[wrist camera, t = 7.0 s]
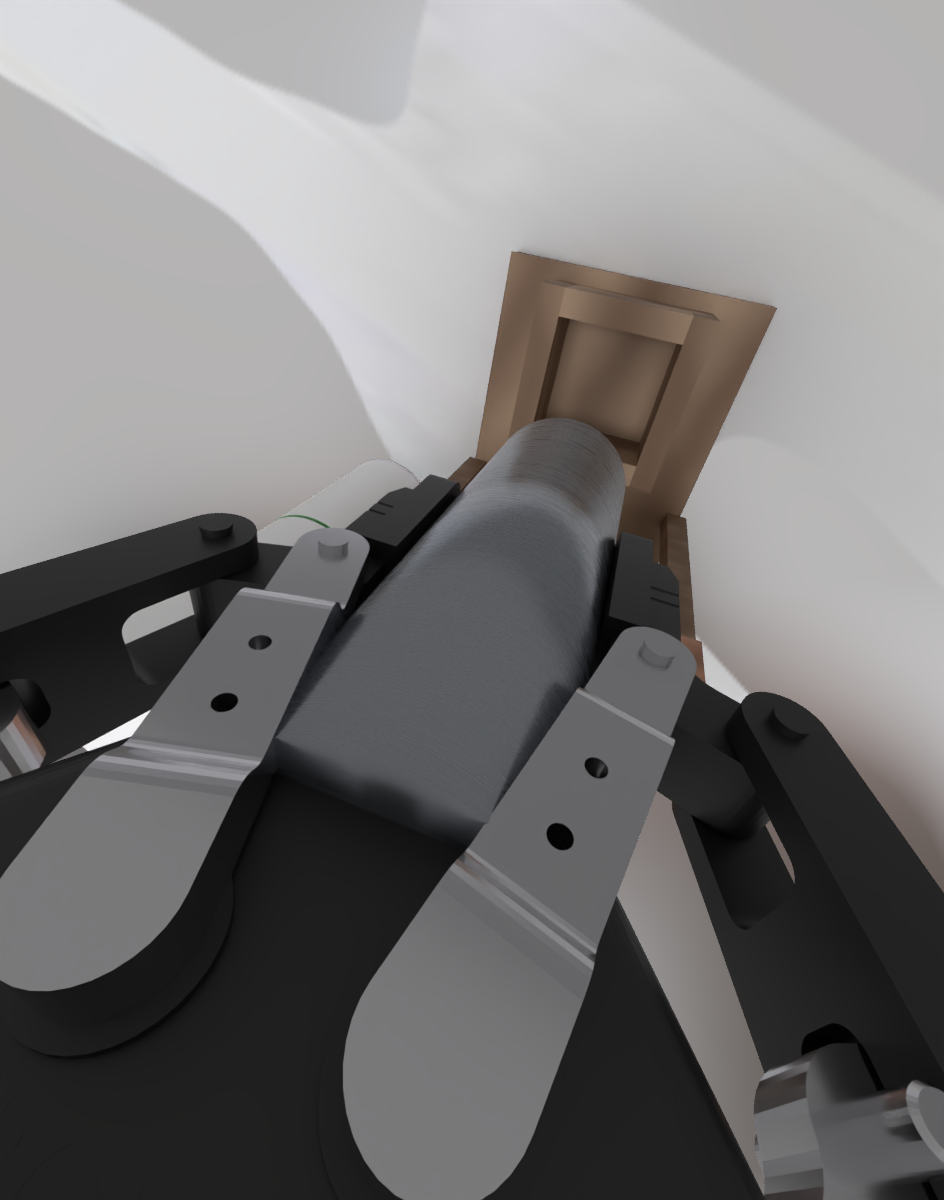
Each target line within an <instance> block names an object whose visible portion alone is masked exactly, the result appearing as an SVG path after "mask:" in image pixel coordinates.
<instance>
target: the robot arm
mask: <svg viewBox="0 0 944 1200" xmlns="http://www.w3.org/2000/svg"><path fill="white" fill-rule="evenodd" d="M459 494H460V483H458V482H455V481H452V480H448V479H445V478H442V477H438V476H435V475H429V476H428V477H427V478H425V479H424V480H423V481H422V482H421V483H420V484H419V485H418V486H416V487H415V488H414V489H410V488H407V487H404V488H401V489H398V490H395V491H392V492H389V493H387V494H386V495H385V496H384V497H383V498H381V499H380V500H379V501H378V503H375V504H374V505H373V506H372V507H370V508H369V511H368V510H367V511H366V512H364V513H363V514H362V515H361V516H360V517H358V518H357V519H356V520H355V521H354V522H352V523H351V524H350V525H349V526H348V527H346V528H345V529H341V528H321V529H316V530H312V531H310V532H307V533H305V534H303V535H302V536H301V537H300V538H299V539H298V540H297V542H296V543H295V545H294V546H284V545H276V544H268V543H259V542H258V538H257V529H256V526H255V525H254V523H253V522H252V521H250V520H249V519H247V518H245V517H242V516H239V515H234V514H227V513H214V514H206V515H200V516H196V517H193V518H189V519H186V520H183V521H179V522H176V523H172V524H169V525H166V526H162V527H159V528H155V529H152V530H149V531H145V532H142V533H138V534H135V535H132V536H128V537H125V538H122V539H118V540H115V541H111V542H108V543H105V544H101V545H98V546H95V547H91V548H88V549H84V550H81V551H77V552H74V553H71V554H67V555H64V556H60V557H57V558H54V559H50V560H47V561H43V562H40V563H37V564H33V565H30V566H27V567H23V568H20V569H16V570H13V571H10V572H6V573H3V574H0V1200H944V893H943V891H942V890H941V889H940V887H939V886H938V884H937V883H936V882H935V880H934V879H933V877H932V876H931V874H930V873H929V872H928V870H927V869H926V868H925V866H924V865H923V863H922V862H921V860H920V859H919V858H918V856H917V855H916V853H915V852H914V851H913V849H912V848H911V846H910V845H909V844H908V842H907V841H906V840H905V838H904V837H903V835H902V834H901V832H900V831H899V830H898V828H897V827H896V825H895V824H894V823H893V821H892V820H891V819H890V817H889V816H888V814H887V813H886V811H885V810H884V808H883V807H882V806H881V804H880V803H879V801H878V800H877V799H876V797H875V796H874V795H873V793H872V792H871V790H870V789H869V787H868V786H867V785H866V783H865V782H864V780H863V779H862V778H861V776H860V775H859V773H858V772H857V771H856V769H855V768H854V767H853V765H852V764H851V762H850V761H849V759H848V758H847V757H846V755H845V754H844V752H843V751H842V749H841V748H840V747H839V746H838V744H837V743H836V741H835V740H834V738H833V737H832V735H831V734H830V733H829V731H828V730H827V729H826V727H825V726H824V725H823V724H822V723H821V721H819V719H817V718H816V717H815V716H814V715H813V714H812V713H811V712H809V711H808V710H807V709H805V708H804V707H802V706H801V705H799V704H797V703H796V702H794V701H792V700H790V699H788V698H785V697H783V696H780V695H777V694H773V693H767V692H755V693H751V694H749V695H748V696H746V697H745V698H744V700H743V701H742V703H741V704H740V703H738V702H736V701H735V700H733V699H731V698H729V697H728V696H726V695H724V694H722V693H720V692H719V691H717V690H715V689H714V688H712V687H710V686H709V685H707V684H706V683H705V682H703V681H702V680H701V679H700V678H698V677H697V676H696V675H695V673H696V670H697V663H696V660H695V658H694V656H693V654H692V653H691V652H690V650H689V649H688V648H687V647H686V646H685V645H684V644H683V643H681V625H680V609H679V607H680V600H679V581H678V580H677V578H676V577H675V575H674V574H673V572H672V571H671V569H670V568H669V567H667V566H664V565H661V564H657V563H654V562H652V560H653V540H651V539H647V538H644V537H641V536H637V535H634V534H630V533H627V532H624V531H622V532H621V533H620V535H619V537H618V540H617V542H616V545H615V548H614V554H613V559H612V565H611V570H610V576H609V581H608V587H607V592H606V598H605V603H604V609H603V614H602V620H601V625H600V631H599V636H598V642H597V648H596V654H595V660H594V666H593V671H592V677H591V679H590V680H589V682H588V683H587V685H586V686H585V688H582V687H579V688H578V689H577V690H576V692H575V693H574V694H573V696H572V697H571V699H570V700H569V702H568V703H567V705H566V706H565V708H564V709H563V710H562V712H561V713H560V715H559V716H558V718H557V719H556V721H555V722H554V724H553V725H552V727H551V728H550V729H549V731H548V732H547V734H546V735H545V737H544V738H543V740H542V741H541V743H540V744H539V746H538V747H537V748H536V750H535V751H534V753H533V754H532V756H531V757H530V759H529V760H528V762H527V763H526V765H525V766H524V767H523V769H522V770H521V772H520V773H519V775H518V776H517V778H516V779H515V781H514V782H513V783H512V785H511V786H510V788H509V789H508V791H507V792H506V794H505V795H504V797H503V798H502V800H501V801H500V802H499V804H498V805H497V807H496V808H495V810H494V811H493V813H492V814H491V816H490V819H489V822H488V824H487V823H485V824H484V826H483V827H482V829H481V830H480V832H479V833H478V835H477V836H476V838H475V839H474V840H473V842H472V843H471V845H470V846H469V847H468V849H467V850H466V851H464V850H461V849H459V848H456V847H454V846H452V845H449V844H447V843H444V842H442V841H440V840H437V839H435V838H432V837H430V836H428V835H425V834H423V833H420V832H418V831H416V830H413V829H411V828H408V827H406V826H404V825H401V824H399V823H397V822H394V821H392V820H389V819H387V818H385V817H382V816H380V815H377V814H375V813H373V812H370V811H368V810H365V809H363V808H361V807H358V806H356V805H353V804H351V803H349V802H346V801H344V800H341V799H339V798H337V797H334V796H332V795H329V794H327V793H325V792H322V791H320V790H318V789H315V788H313V787H310V786H308V785H306V784H303V783H301V782H298V781H296V780H294V779H291V778H289V777H286V776H284V775H282V774H279V773H277V772H275V771H276V768H277V764H276V755H275V747H274V739H273V738H274V736H275V734H276V732H277V730H278V729H279V727H280V725H281V723H282V721H283V719H284V718H285V716H286V714H287V712H288V710H289V708H290V707H291V705H292V703H293V701H294V700H295V698H296V696H297V695H298V693H299V691H300V689H301V688H302V686H303V684H304V683H305V681H306V679H307V677H308V676H309V674H310V672H311V670H312V669H313V667H314V666H315V664H316V662H317V661H318V659H319V658H320V656H321V655H322V653H323V652H324V650H325V648H326V647H327V645H328V644H329V642H330V641H331V640H332V638H333V637H334V636H335V634H336V633H337V632H338V630H339V629H340V628H341V627H342V626H343V624H344V623H345V622H346V621H347V620H348V619H349V618H350V617H351V615H352V614H353V613H354V612H355V611H356V610H357V609H358V608H359V606H360V605H361V604H362V603H363V602H364V601H365V600H366V599H367V597H368V596H369V595H370V594H371V593H372V592H373V591H374V590H375V589H376V587H377V586H378V585H379V584H380V583H381V582H382V581H383V580H384V578H385V577H386V576H387V575H388V574H389V573H390V572H391V571H392V569H393V568H394V567H395V566H396V565H397V564H398V563H399V562H400V561H401V559H402V558H403V557H404V556H405V555H406V554H407V553H408V552H409V550H410V549H411V548H412V547H413V546H414V545H415V544H416V543H417V541H418V540H419V539H420V538H421V537H422V536H423V535H424V534H425V532H426V531H427V530H428V529H429V528H430V527H431V526H432V525H433V524H434V522H435V521H436V520H437V519H438V518H439V517H440V516H441V515H442V513H443V512H444V511H445V510H446V509H447V508H448V507H449V506H450V504H451V503H452V502H453V501H454V500H455V499H456V498H457V497H458V496H459ZM187 591H189V593H190V598H191V602H192V607H193V611H194V615H191V616H189V617H187V618H184V619H182V620H180V621H177V622H175V623H173V624H171V625H168V626H166V627H164V628H161V629H159V630H157V631H154V632H152V633H150V634H148V635H145V636H143V637H141V638H138V639H136V640H134V641H131V642H129V643H127V644H125V642H124V639H123V636H122V628H123V625H124V623H125V622H126V620H127V619H128V618H129V617H130V616H131V615H132V614H134V613H135V612H137V611H139V610H141V609H144V608H147V607H149V606H152V605H154V604H157V603H159V602H162V601H164V600H167V599H169V598H172V597H174V596H177V595H179V594H182V593H184V592H187ZM149 710H151V711H150V712H149V713H148V715H147V716H146V717H145V719H144V720H143V721H142V723H141V724H140V725H139V727H138V728H137V729H136V731H135V732H134V734H133V735H132V736H131V737H128V738H125V739H122V740H119V741H117V742H114V743H111V744H108V745H105V746H102V747H99V748H96V749H93V750H90V751H87V752H84V753H81V754H79V755H76V756H73V757H70V758H67V759H64V760H61V761H58V762H55V763H52V762H54V761H56V760H58V759H60V758H62V757H63V756H66V755H67V754H69V753H71V752H73V751H75V750H77V749H79V748H81V747H82V746H84V745H86V744H88V743H90V742H92V741H94V740H95V739H97V738H99V737H101V736H103V735H105V734H107V733H108V732H110V731H112V730H114V729H116V728H118V727H120V726H122V725H123V724H125V723H127V722H129V721H131V720H133V719H135V718H136V717H138V716H140V715H142V714H144V713H146V712H148V711H149ZM51 763H52V764H51ZM656 791H658V792H660V793H661V794H663V795H664V796H665V797H667V798H669V799H670V800H671V801H672V810H673V813H674V817H675V819H676V822H677V825H678V828H679V830H680V833H681V837H682V839H683V842H684V845H685V848H686V851H687V853H688V856H689V859H690V862H691V865H692V868H693V870H694V873H695V876H696V879H697V882H698V885H699V888H700V891H701V893H702V896H703V899H704V902H705V905H706V907H707V911H708V913H709V916H710V919H711V922H712V925H713V927H714V931H715V933H716V936H717V939H718V942H719V944H720V947H721V950H722V953H723V956H724V959H725V962H726V965H727V968H728V970H729V973H730V976H731V979H732V982H733V985H734V987H735V990H736V993H737V996H738V999H739V1002H740V1005H741V1007H742V1010H743V1013H744V1016H745V1019H746V1021H747V1024H748V1027H749V1030H750V1033H751V1036H752V1039H753V1042H754V1044H755V1047H756V1050H757V1053H758V1056H759V1059H760V1061H761V1064H762V1067H763V1070H764V1073H765V1074H764V1076H763V1077H762V1079H761V1080H760V1082H759V1084H758V1087H757V1089H756V1093H755V1099H754V1121H755V1130H756V1136H755V1152H756V1156H757V1160H758V1163H759V1165H760V1168H761V1170H762V1172H763V1173H764V1196H763V1194H762V1192H761V1190H760V1188H759V1186H758V1183H757V1181H756V1179H755V1177H754V1175H753V1173H752V1171H751V1169H750V1167H749V1165H748V1163H747V1161H746V1159H745V1157H744V1155H743V1153H742V1151H741V1149H740V1147H739V1145H738V1143H737V1140H736V1138H735V1137H734V1135H733V1132H732V1131H731V1128H730V1127H729V1124H728V1122H727V1120H726V1118H725V1116H724V1114H723V1112H722V1110H721V1108H720V1106H719V1104H718V1102H717V1100H716V1097H715V1095H714V1094H713V1091H712V1089H711V1087H710V1085H709V1083H708V1081H707V1079H706V1077H705V1075H704V1073H703V1071H702V1069H701V1067H700V1065H699V1063H698V1061H697V1059H696V1057H695V1055H694V1053H693V1050H692V1049H691V1046H690V1044H689V1042H688V1040H687V1038H686V1036H685V1034H684V1032H683V1030H682V1028H681V1026H680V1024H679V1022H678V1020H677V1018H676V1016H675V1014H674V1012H673V1010H672V1008H671V1006H670V1003H669V1001H668V999H667V998H666V996H665V993H664V991H663V989H662V987H661V985H660V983H659V981H658V979H657V977H656V975H655V973H654V971H653V969H652V967H651V965H650V963H649V961H648V959H647V956H646V954H645V952H644V950H643V948H642V947H641V944H640V942H639V940H638V938H637V936H636V934H635V932H634V930H633V928H632V926H631V924H630V922H629V920H628V918H627V916H626V914H625V911H624V910H623V908H622V905H621V903H620V902H619V899H618V897H617V893H618V891H619V888H620V885H621V883H622V880H623V877H624V875H625V872H626V870H627V867H628V865H629V862H630V859H631V857H632V854H633V851H634V849H635V846H636V843H637V841H638V838H639V836H640V833H641V830H642V828H643V825H644V823H645V820H646V817H647V814H648V812H649V809H650V807H651V804H652V801H653V799H654V796H655V794H656ZM770 820H771V822H772V824H773V826H774V828H775V830H776V832H777V834H778V836H779V838H780V840H781V842H782V844H783V846H784V848H785V850H786V852H787V854H788V856H789V858H790V860H791V862H792V866H793V869H794V875H795V884H794V882H793V880H792V878H791V876H790V874H789V872H788V870H787V868H786V866H785V864H784V862H783V860H782V858H781V856H780V854H779V852H778V850H777V848H776V846H775V844H774V842H773V840H772V838H771V836H770V834H769V832H768V830H767V828H766V826H765V825H766V824H767V823H768V822H769V821H770Z"/></svg>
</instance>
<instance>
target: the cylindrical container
mask: <svg viewBox="0 0 944 1200" xmlns="http://www.w3.org/2000/svg"><path fill="white" fill-rule="evenodd" d="M418 485H419V482H418V481H417V479H416V478H415V477H414V476H413V475H412V474H411V473H410V472H409V471H408V470H407V469H405V468H404V467H402V466H400V465H399V464H397V463H394V462H392V461H389V460H382V459H373V460H369V461H366V462H364V463H362V464H360V465H359V466H357V467H356V468H354V469H353V470H351V471H350V472H348V473H347V474H345V475H343V476H342V477H340V478H339V479H337V480H336V481H334V482H333V483H331V484H330V485H328V486H327V487H325V488H324V489H322V490H321V491H319V492H318V493H316V494H315V495H313V496H312V497H310V498H309V499H307V500H306V501H304V502H302V503H301V504H299V505H298V506H296V507H295V508H294V509H292V510H290V511H289V512H287V513H286V514H284V515H283V516H281V517H280V518H278V519H277V520H275V521H274V522H272V523H271V524H269V525H268V526H266V527H265V528H263V529H262V530H260V531H258V532H257V538H258V542H259V543H268V544H276V545H284V546H294V545H295V543H296V542H297V540H298V539H299V538H300V537H301V536H302V535H303V534H305V533H307V532H310V531H312V530H316V529H321V528H341V529H345V528H346V527H348V526H349V525H350V524H351V523H352V522H354V521H355V520H356V519H357V518H358V517H360V516H361V515H362V514H363V513H364V512H366V511H367V510H368V511H369V508H370V507H372V506H373V505H374V504H375V503H378V501H379V500H380V499H381V498H383V497H384V496H385V495H386V494H387V493H389V492H392V491H395V490H398V489H401V488H404V487H407V488H410V489H414V488H415V487H416V486H418ZM191 615H194V611H193V607H192V602H191V598H190V593H189V591H187V592H184V593H182V594H179V595H177V596H174V597H172V598H169V599H167V600H164V601H162V602H159V603H157V604H154V605H152V606H149V607H147V608H144V609H141V610H139V611H137V612H136V613H134V614H133V615H131V616H130V617H129V618H128V619H127V620H126V622H125V623H124V625H123V628H122V636H123V639H124V642H125V644H127V643H129V642H131V641H134V640H136V639H138V638H141V637H143V636H145V635H148V634H150V633H152V632H154V631H157V630H159V629H161V628H164V627H166V626H168V625H171V624H173V623H175V622H177V621H180V620H182V619H184V618H187V617H189V616H191ZM150 711H151V710H149V711H148V712H146V713H144V714H142V715H140V716H138V717H136V718H135V719H133V720H131V721H129V722H127V723H125V724H123V725H122V726H120V727H118V728H116V729H114V730H112V731H110V732H108V733H107V734H105V735H103V736H101V737H99V738H97V739H95V740H94V741H92V742H90V743H88V744H86V745H84V746H83V747H84V748H85V749H86V750H87V751H90V750H93V749H96V748H99V747H102V746H105V745H108V744H111V743H114V742H117V741H119V740H122V739H125V738H128V737H131V736H132V735H133V734H134V732H135V731H136V729H137V728H138V727H139V725H140V724H141V723H142V721H143V720H144V719H145V717H146V716H147V715H148V713H149V712H150Z"/></svg>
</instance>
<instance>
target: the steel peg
mask: <svg viewBox="0 0 944 1200" xmlns="http://www.w3.org/2000/svg"><path fill="white" fill-rule="evenodd" d="M625 480H626V479H625V472H624V467H623V464H622V461H621V459H620V456H619V454H618V452H617V451H616V449H615V447H614V446H613V445H612V443H611V442H610V441H609V440H608V439H607V438H606V437H605V436H604V435H603V434H602V433H601V432H599V431H598V430H596V429H595V428H594V427H592V426H590V425H588V424H586V423H583V422H580V421H577V420H574V419H568V418H547V419H543V420H538V421H536V422H533V423H530V424H528V425H527V426H525V427H523V428H521V429H520V430H519V431H517V432H516V433H515V434H514V435H513V436H512V437H510V438H509V439H508V441H507V442H506V443H505V444H504V445H503V446H502V447H501V448H500V450H499V451H498V452H497V453H496V454H495V455H494V456H493V457H492V459H491V460H490V461H489V462H488V463H487V464H486V465H485V466H484V468H483V469H482V470H481V471H480V472H479V473H478V474H477V475H476V476H475V478H474V479H473V480H472V481H471V482H470V483H469V484H468V485H467V487H466V488H465V489H464V490H463V491H462V492H461V493H460V494H459V496H458V497H457V498H456V499H455V500H454V501H453V502H452V503H451V504H450V506H449V507H448V508H447V509H446V510H445V511H444V512H443V513H442V515H441V516H440V517H439V518H438V519H437V520H436V521H435V522H434V524H433V525H432V526H431V527H430V528H429V529H428V530H427V531H426V532H425V534H424V535H423V536H422V537H421V538H420V539H419V540H418V541H417V543H416V544H415V545H414V546H413V547H412V548H411V549H410V550H409V552H408V553H407V554H406V555H405V556H404V557H403V558H402V559H401V561H400V562H399V563H398V564H397V565H396V566H395V567H394V568H393V569H392V571H391V572H390V573H389V574H388V575H387V576H386V577H385V578H384V580H383V581H382V582H381V583H380V584H379V585H378V586H377V587H376V589H375V590H374V591H373V592H372V593H371V594H370V595H369V596H368V597H367V599H366V600H365V601H364V602H363V603H362V604H361V605H360V606H359V608H358V609H357V610H356V611H355V612H354V613H353V614H352V615H351V617H350V618H349V619H348V620H347V621H346V622H345V623H344V624H343V626H342V627H341V628H340V629H339V630H338V632H337V633H336V634H335V636H334V637H333V638H332V640H331V641H330V642H329V644H328V645H327V647H326V648H325V650H324V652H323V653H322V655H321V656H320V658H319V659H318V661H317V662H316V664H315V666H314V667H313V669H312V670H311V672H310V674H309V676H308V677H307V679H306V681H305V683H304V684H303V686H302V688H301V689H300V691H299V693H298V695H297V696H296V698H295V700H294V701H293V703H292V705H291V707H290V708H289V710H288V712H287V714H286V716H285V718H284V719H283V721H282V723H281V725H280V727H279V729H278V730H277V732H276V734H275V736H274V738H273V739H274V747H275V755H276V764H277V768H276V771H275V772H277V773H279V774H282V775H284V776H286V777H289V778H291V779H294V780H296V781H298V782H301V783H303V784H306V785H308V786H310V787H313V788H315V789H318V790H320V791H322V792H325V793H327V794H329V795H332V796H334V797H337V798H339V799H341V800H344V801H346V802H349V803H351V804H353V805H356V806H358V807H361V808H363V809H365V810H368V811H370V812H373V813H375V814H377V815H380V816H382V817H385V818H387V819H389V820H392V821H394V822H397V823H399V824H401V825H404V826H406V827H408V828H411V829H413V830H416V831H418V832H420V833H423V834H425V835H428V836H430V837H432V838H435V839H437V840H440V841H442V842H444V843H447V844H449V845H452V846H454V847H456V848H459V849H461V850H464V851H466V850H467V849H468V847H469V846H470V845H471V843H472V842H473V840H474V839H475V838H476V836H477V835H478V833H479V832H480V830H481V829H482V827H483V826H484V824H485V823H487V824H488V822H489V819H490V816H491V814H492V813H493V811H494V810H495V808H496V807H497V805H498V804H499V802H500V801H501V800H502V798H503V797H504V795H505V794H506V792H507V791H508V789H509V788H510V786H511V785H512V783H513V782H514V781H515V779H516V778H517V776H518V775H519V773H520V772H521V770H522V769H523V767H524V766H525V765H526V763H527V762H528V760H529V759H530V757H531V756H532V754H533V753H534V751H535V750H536V748H537V747H538V746H539V744H540V743H541V741H542V740H543V738H544V737H545V735H546V734H547V732H548V731H549V729H550V728H551V727H552V725H553V724H554V722H555V721H556V719H557V718H558V716H559V715H560V713H561V712H562V710H563V709H564V708H565V706H566V705H567V703H568V702H569V700H570V699H571V697H572V696H573V694H574V693H575V692H576V690H577V689H578V688H579V687H582V688H585V686H586V685H587V683H588V682H589V680H590V679H591V677H592V671H593V666H594V660H595V654H596V648H597V642H598V636H599V631H600V625H601V620H602V614H603V609H604V603H605V598H606V592H607V587H608V581H609V576H610V570H611V565H612V559H613V554H614V548H615V544H616V538H617V533H618V527H619V522H620V516H621V511H622V505H623V500H624V494H625Z"/></svg>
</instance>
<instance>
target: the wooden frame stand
mask: <svg viewBox="0 0 944 1200" xmlns="http://www.w3.org/2000/svg"><path fill="white" fill-rule="evenodd" d="M776 309H777V308H775V307H773V306H769V305H764V304H760V303H755V302H750V301H745V300H741V299H736V298H731V297H727V296H722V295H717V294H713V293H708V292H703V291H699V290H694V289H689V288H685V287H680V286H675V285H670V284H666V283H661V282H656V281H652V280H647V279H642V278H638V277H633V276H628V275H624V274H619V273H614V272H610V271H605V270H600V269H595V268H591V267H586V266H581V265H577V264H572V263H567V262H563V261H558V260H553V259H549V258H544V257H539V256H535V255H530V254H525V253H520V252H512V253H511V258H510V264H509V270H508V276H507V281H506V287H505V293H504V298H503V304H502V310H501V316H500V321H499V327H498V333H497V339H496V344H495V350H494V356H493V361H492V367H491V373H490V379H489V384H488V390H487V396H486V402H485V407H484V413H483V419H482V425H481V430H480V436H479V442H478V447H477V453H476V458H472V457H470V458H469V459H468V460H467V461H466V462H464V463H463V464H462V465H461V466H460V467H459V468H458V469H457V470H456V471H455V472H454V473H453V474H452V475H451V476H450V477H449V478H448V480H452V481H455V482H458V483H460V493H461V492H462V491H463V490H464V489H465V488H466V487H467V485H468V484H469V483H470V482H471V481H472V480H473V479H474V478H475V476H476V475H477V474H478V473H479V472H480V471H481V470H482V469H483V468H484V466H485V465H486V464H487V463H488V462H489V461H490V460H491V459H492V457H493V456H494V455H495V454H496V453H497V452H498V451H499V450H500V448H501V447H502V446H503V445H504V444H505V443H506V442H507V441H508V439H509V438H510V437H512V436H513V435H514V434H515V433H516V432H517V431H519V430H520V429H521V428H523V427H525V426H527V425H528V424H530V423H533V422H536V421H538V420H543V419H547V418H568V419H574V420H577V421H580V422H583V423H586V424H588V425H590V426H592V427H594V428H595V429H596V430H598V431H599V432H601V433H602V434H603V435H604V436H605V437H606V438H607V439H608V440H609V441H610V442H611V443H612V445H613V446H614V447H615V449H616V451H617V452H618V454H619V456H620V459H621V461H622V464H623V467H624V472H625V479H626V480H625V494H624V500H623V505H622V511H621V516H620V522H619V527H618V533H617V538H616V542H617V540H618V537H619V535H620V533H621V532H622V531H624V532H627V533H630V534H634V535H637V536H641V537H644V538H647V539H651V540H653V560H652V562H654V563H657V564H658V562H659V564H661V565H664V566H667V567H669V568H670V569H671V571H672V572H673V574H674V575H675V577H676V578H677V580H678V581H679V600H680V607H679V609H680V625H681V643H683V644H684V645H685V646H686V647H687V648H688V649H689V650H690V652H691V653H692V654H693V656H694V658H695V660H696V663H697V670H696V673H695V675H696V676H697V677H698V678H700V679H701V680H702V681H703V682H705V673H704V663H703V652H702V642H700V641H697V640H696V638H695V626H694V615H693V600H692V588H691V576H690V562H689V550H688V537H687V524H686V518H683V517H680V515H681V513H682V511H683V508H684V507H685V504H686V502H687V500H688V498H689V496H690V493H691V491H692V489H693V487H694V485H695V483H696V481H697V479H698V476H699V474H700V472H701V470H702V468H703V466H704V463H705V462H706V459H707V457H708V455H709V453H710V451H711V449H712V446H713V444H714V442H715V440H716V438H717V436H718V434H719V431H720V429H721V427H722V425H723V423H724V421H725V419H726V416H727V414H728V412H729V410H730V408H731V406H732V404H733V401H734V399H735V397H736V395H737V393H738V391H739V389H740V386H741V384H742V382H743V380H744V378H745V376H746V374H747V371H748V369H749V367H750V365H751V363H752V361H753V358H754V356H755V354H756V352H757V350H758V348H759V346H760V343H761V341H762V339H763V337H764V335H765V333H766V331H767V328H768V326H769V324H770V322H771V320H772V318H773V316H774V313H775V311H776ZM615 545H616V544H615Z"/></svg>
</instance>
